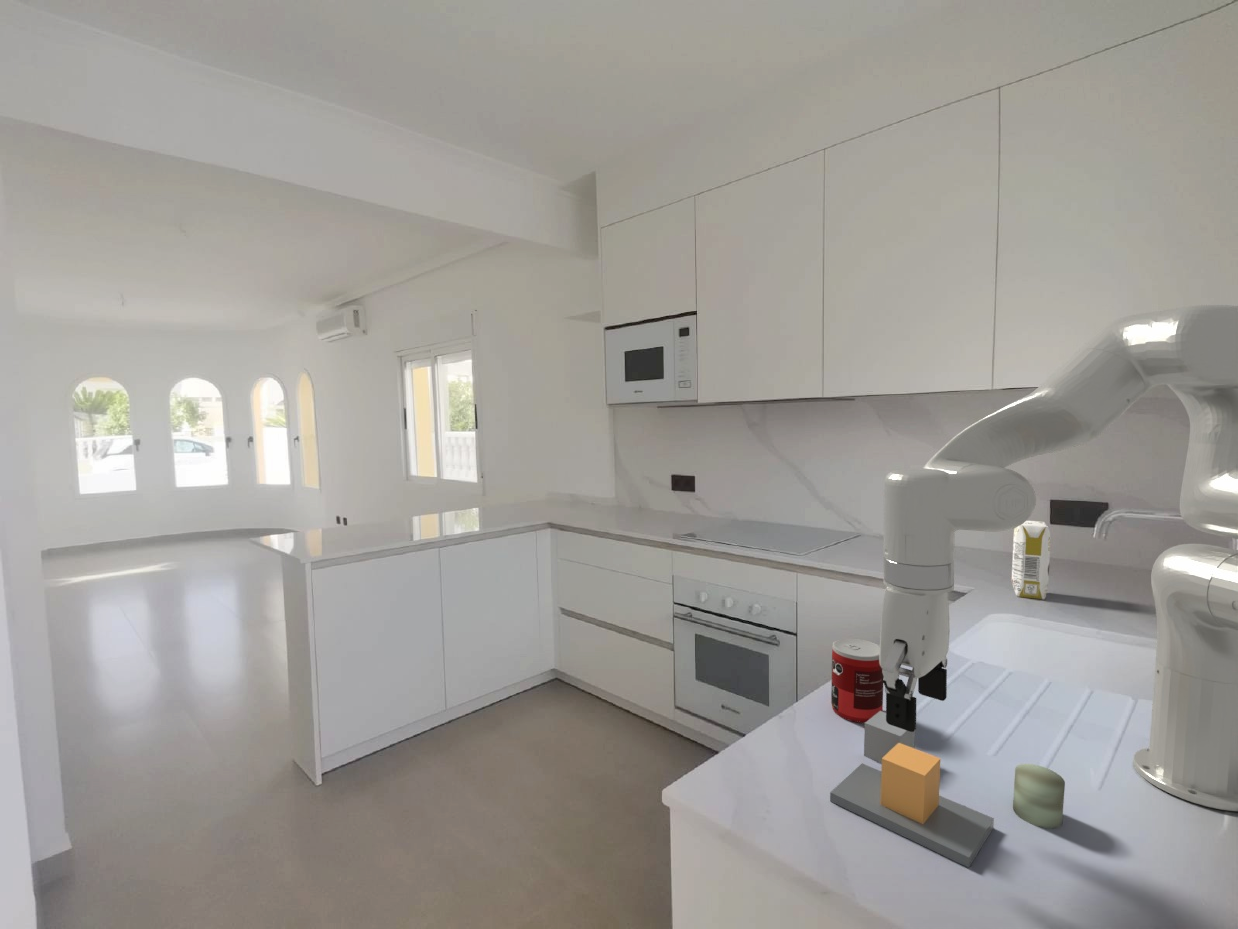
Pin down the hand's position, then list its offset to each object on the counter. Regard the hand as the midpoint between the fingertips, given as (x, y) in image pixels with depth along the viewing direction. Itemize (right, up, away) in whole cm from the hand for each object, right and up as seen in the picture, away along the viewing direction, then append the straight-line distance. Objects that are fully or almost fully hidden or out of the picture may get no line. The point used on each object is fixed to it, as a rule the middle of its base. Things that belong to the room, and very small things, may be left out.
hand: (917, 711), depth 74 cm
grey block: (+3, -12, +14) cm, 18 cm away
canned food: (+3, -11, +26) cm, 29 cm away
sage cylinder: (+15, -13, +1) cm, 20 cm away
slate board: (0, -13, +1) cm, 13 cm away
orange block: (0, -12, +1) cm, 12 cm away
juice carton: (+71, -4, +86) cm, 112 cm away
